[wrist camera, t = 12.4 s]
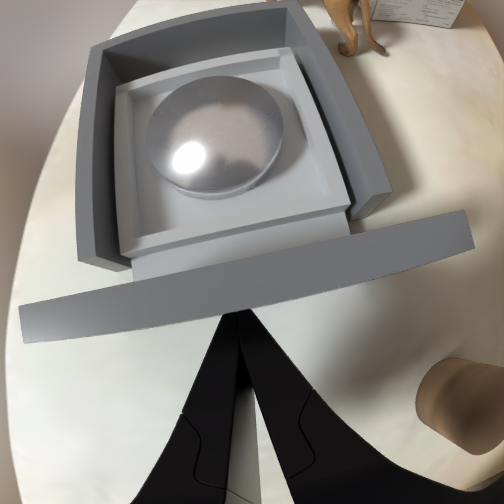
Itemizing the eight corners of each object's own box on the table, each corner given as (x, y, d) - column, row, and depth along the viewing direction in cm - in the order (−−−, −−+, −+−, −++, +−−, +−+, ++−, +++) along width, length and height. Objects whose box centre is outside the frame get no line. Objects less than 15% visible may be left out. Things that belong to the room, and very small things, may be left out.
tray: (382, 277, 15) (475, 248, 7) (124, 331, 15) (23, 343, 7) (308, 67, 18) (323, -27, 10) (108, 112, 18) (53, 36, 10)
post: (472, 408, 13) (520, 428, 8) (417, 437, 13) (460, 470, 8) (469, 347, 14) (523, 354, 9) (411, 373, 14) (461, 392, 9)
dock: (364, 217, 16) (392, 191, 12) (116, 271, 16) (78, 260, 12) (293, 39, 18) (297, -1, 15) (111, 80, 18) (91, 47, 15)
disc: (264, 83, 16) (264, 66, 15) (296, 184, 15) (299, 171, 13) (151, 109, 16) (143, 93, 15) (161, 214, 15) (150, 204, 13)
